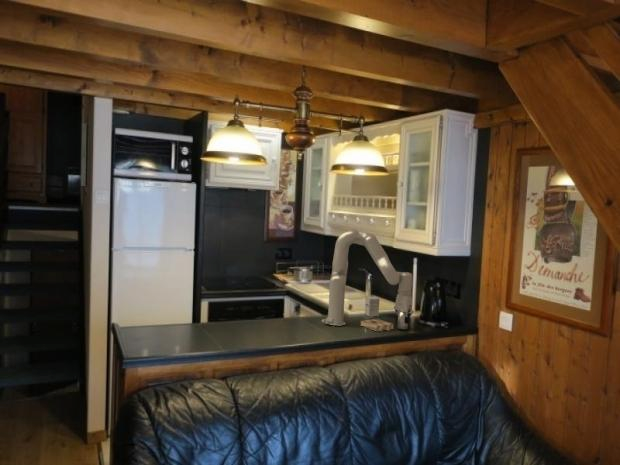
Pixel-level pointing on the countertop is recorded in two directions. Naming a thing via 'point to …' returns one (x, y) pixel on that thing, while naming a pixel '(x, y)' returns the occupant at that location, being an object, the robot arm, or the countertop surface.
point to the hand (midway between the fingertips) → (402, 321)
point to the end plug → (402, 320)
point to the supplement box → (372, 306)
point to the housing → (377, 325)
